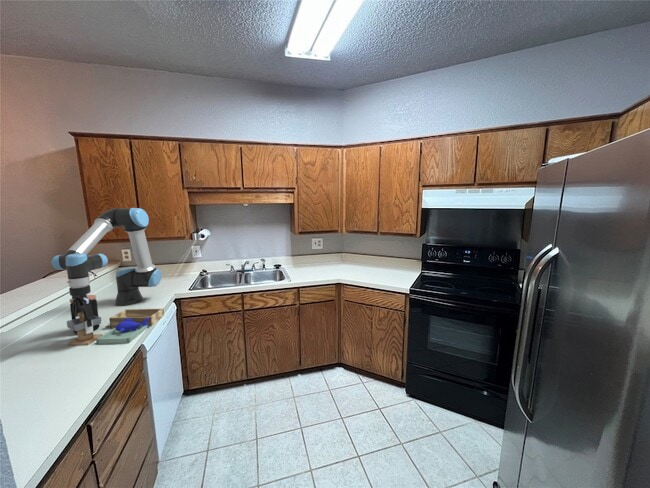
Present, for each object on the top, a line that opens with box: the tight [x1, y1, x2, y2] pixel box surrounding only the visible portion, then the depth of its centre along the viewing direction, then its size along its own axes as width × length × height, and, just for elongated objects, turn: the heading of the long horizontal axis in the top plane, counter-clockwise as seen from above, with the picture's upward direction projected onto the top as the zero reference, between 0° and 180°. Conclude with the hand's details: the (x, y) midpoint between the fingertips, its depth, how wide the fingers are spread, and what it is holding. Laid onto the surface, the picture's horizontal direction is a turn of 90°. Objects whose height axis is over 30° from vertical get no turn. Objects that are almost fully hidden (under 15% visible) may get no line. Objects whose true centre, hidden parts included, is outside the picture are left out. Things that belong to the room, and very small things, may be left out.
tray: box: [95, 325, 148, 345], centre depth 140 cm, size 16×15×2 cm
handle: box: [68, 313, 103, 346], centre depth 134 cm, size 9×9×14 cm
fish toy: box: [115, 318, 150, 331], centre depth 144 cm, size 15×8×7 cm, turn 117°
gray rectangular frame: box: [66, 315, 102, 331], centre depth 135 cm, size 9×12×3 cm
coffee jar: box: [69, 294, 101, 335], centre depth 145 cm, size 11×11×18 cm
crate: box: [109, 308, 165, 329], centre depth 155 cm, size 13×22×6 cm, turn 93°
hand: (85, 330), depth 134 cm, fingers closed on gray rectangular frame, 9 cm apart
